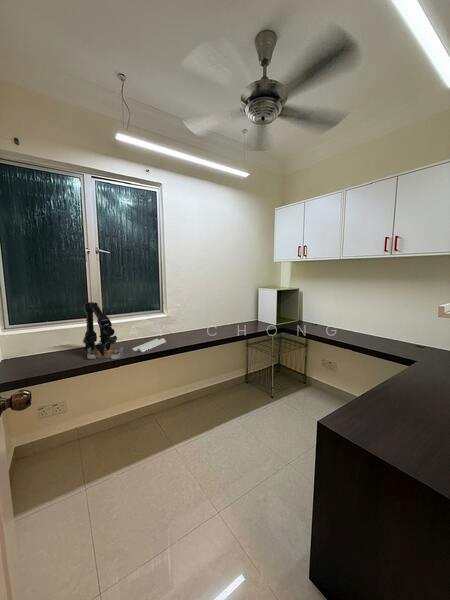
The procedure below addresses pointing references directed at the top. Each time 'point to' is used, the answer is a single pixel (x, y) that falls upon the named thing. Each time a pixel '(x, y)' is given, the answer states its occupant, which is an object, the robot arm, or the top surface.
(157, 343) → the crown molding
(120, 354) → the cup brackets
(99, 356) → the rail
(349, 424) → the top surface
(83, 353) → the top surface
